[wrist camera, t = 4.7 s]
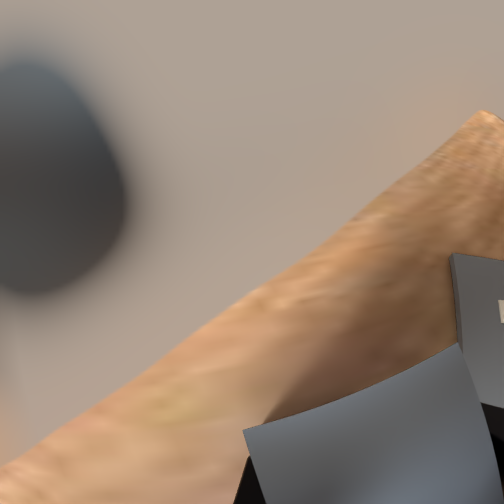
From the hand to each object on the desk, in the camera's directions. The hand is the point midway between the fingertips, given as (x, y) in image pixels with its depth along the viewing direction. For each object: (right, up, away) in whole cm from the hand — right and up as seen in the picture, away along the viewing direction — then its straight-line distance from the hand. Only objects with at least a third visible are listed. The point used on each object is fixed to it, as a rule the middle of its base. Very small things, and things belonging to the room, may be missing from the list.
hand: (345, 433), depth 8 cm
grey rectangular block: (+1, -5, +5) cm, 7 cm away
